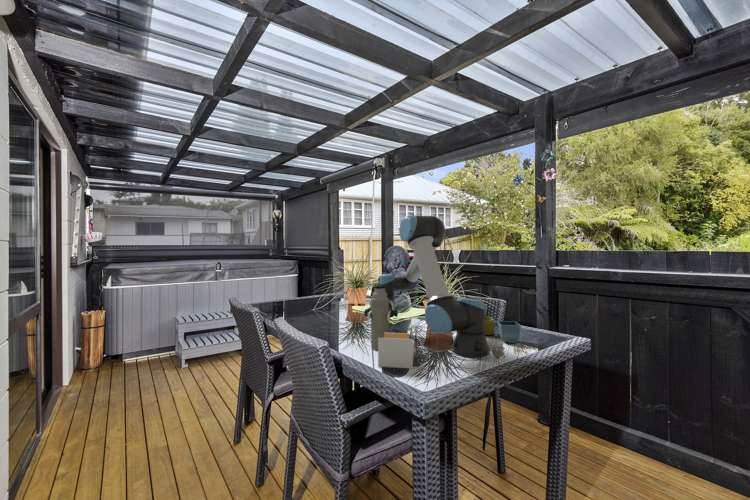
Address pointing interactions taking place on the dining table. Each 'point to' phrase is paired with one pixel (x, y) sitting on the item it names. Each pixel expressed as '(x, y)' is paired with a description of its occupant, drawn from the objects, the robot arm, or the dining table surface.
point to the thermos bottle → (379, 315)
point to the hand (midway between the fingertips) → (378, 317)
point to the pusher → (397, 335)
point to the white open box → (395, 352)
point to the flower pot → (509, 331)
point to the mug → (489, 326)
